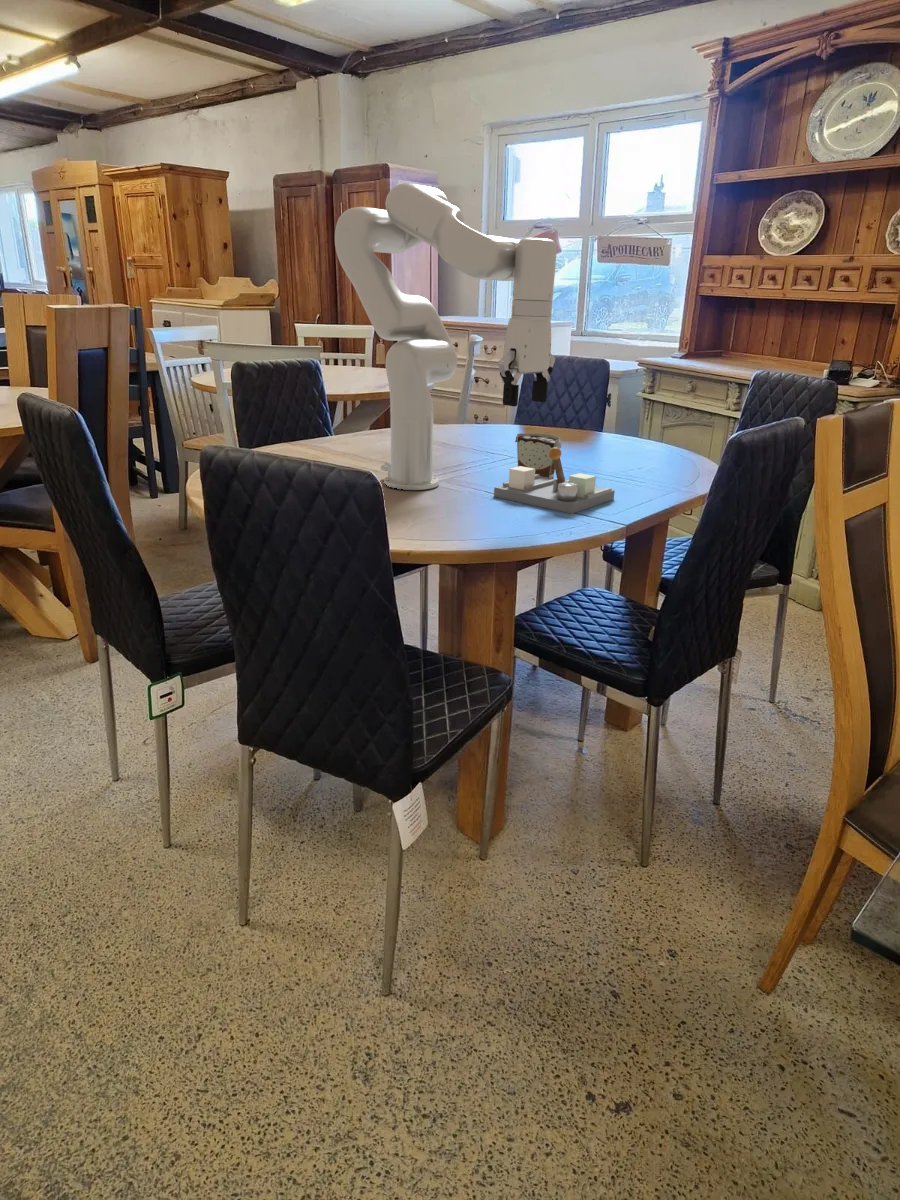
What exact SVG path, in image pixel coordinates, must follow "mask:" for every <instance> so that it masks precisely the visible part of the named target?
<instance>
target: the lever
mask: <svg viewBox="0 0 900 1200" xmlns="http://www.w3.org/2000/svg"><path fill="white" fill-rule="evenodd" d="M549 457H550V458H551V459H553V463H554V468H555V471H554V473H555V475H556V478H557V480H558V484H559V483H564V481H566V477H565V474H564V469H563V465H562V461H561V457H562V450H561V448H560V449H559V448H557V447H553V448H551V449H550V451H549Z"/></svg>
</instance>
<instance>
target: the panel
mask: <svg viewBox="0 0 900 1200" xmlns="http://www.w3.org/2000/svg"><path fill="white" fill-rule="evenodd" d="M564 483H569V479H568V480H566V479H565V481H564ZM615 492H616V491H615V490H614V489H613V488H612V487H606V488H604V487H598V486H595V491H594V492H593V493H590V494H587V495H585V498H582V497H577V500H576V501H572V502H567V501H560V500H558V499H557V495H558V480H557V477H555V478H554V477H553V478H548V477H543V476H540V475H539V474H535V481H534V485H530V486H527V487H524V490H521V489H516V488H512V487H509V480H508V481H505V482H502V485H498V486H495V487H494V489H493V497H496V498H500V499H505V500H509V501H513V502H518V503H523V504H526V505H531V506H535V507H540V508H544V509H548V510H553V511H558V512H561V513H568V514H570V515H572V514H576V513H578V512H582V511H584V510H586V509H590V508H593V507H595V506H598V505H602V504H605V503H606V502H611V501H613V500H614V499H615Z"/></svg>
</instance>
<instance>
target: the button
mask: <svg viewBox="0 0 900 1200" xmlns="http://www.w3.org/2000/svg"><path fill="white" fill-rule="evenodd" d="M577 491H578V485H577V484H574V483H559V484H558V495H557V499H558V500H560V501H567V502H572V501H576V500H577Z"/></svg>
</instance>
